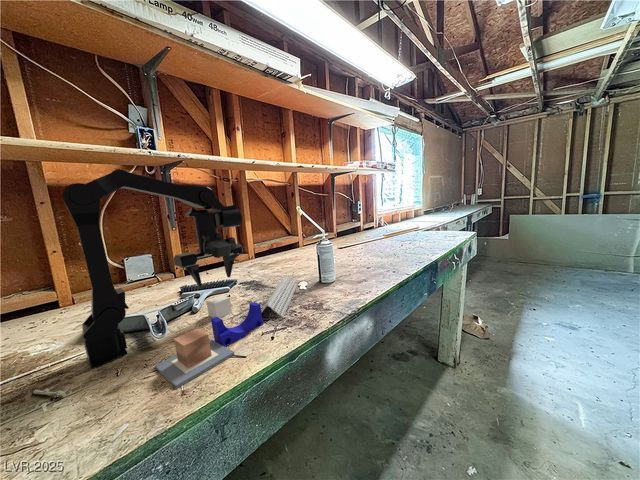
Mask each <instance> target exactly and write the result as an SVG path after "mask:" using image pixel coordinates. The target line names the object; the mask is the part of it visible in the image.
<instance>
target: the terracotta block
mask: <svg viewBox="0 0 640 480" xmlns="http://www.w3.org/2000/svg"><path fill="white" fill-rule="evenodd" d="M209 337H210V336H209V334H208V333H207V332H205V331H204V330H201V329H199V328H194V329H193V330H190V331H189V332H186V333H183V334H181V335H180V336H176V337H175V338H173V343H174V347H175V353H176V354H177V359H178V361H179V362H180V363H182V364H183V365H184V366H185V367H187V368H190V367H192V366H194V365H196V364H197V363H199V362H201V361H203V360H205V359H206V358H208V357H210V356H212V354H211V348H210V342H209ZM176 354H175V355H176Z"/></svg>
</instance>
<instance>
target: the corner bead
mask: <svg viewBox="0 0 640 480" xmlns="http://www.w3.org/2000/svg"><path fill="white" fill-rule="evenodd" d="M297 287H298V283H297V282H296V281H294V280H293V279H292V278H291V277H290V276H289V275H288V274H287V273H286V274H285V276H284V277H283V279H282V280H281V281H280V282H279V284H278V285H277V286H276V288H275V289H274V290H273V293H272V294H271V295H270V297H269V299H268V300H267V301H266V302H265V304H264V305H263V307H262V308H261V314H262V313H263V312H264V311H265V309H266V308H270V309H271V310H272V311H273V312H275V313H276V314H277V315H278V316H280V317H281V318H284V316H285V314H286V312H287V309H288V307H289V304H290V302H291V300H292V298H293V295H294V294H295V290H296V289H297Z"/></svg>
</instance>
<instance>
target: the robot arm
mask: <svg viewBox="0 0 640 480" xmlns="http://www.w3.org/2000/svg"><path fill="white" fill-rule="evenodd" d="M121 189H125V190H132V191H136V192H140V193H145V194H150V195H156V196H159V197H165V198H168V199H169V198H170V199H173V200H176V201H179V202H181V203H183V204H185V205H187V206H191V207H190V208H189V210H188V211H187V212H186V213H185V214H184V216H185V217H186V218H187V217H188V218H191V217H193V222H194V226H195V227H194V228H195V235H194V237H195V239H197V244H198V248H197V249H196V250H197V251H196V252H197V253H194V252H186V253H185V252H184V253H180V254H176V255H174V257H173V264H174V266H177V267H180V268H182V269H185V271H187V272H188V273H189V275H190V276H191V277H192V280H194V282H195V284H196V285H197V286H198V287H200V288H201V287H202V280H201V276H200V271H199V269H200V264H199V263H197V262H198V261H199V260H203V259H208V258H212V257H213V258H215V259H221V258H222V260H223V261H222V262H223V265H224V270H225V274H226V277H227V278H231V276H232V275H231V274H232V270H233V267H234V266H233V265H234V263H235V261H236V259H237V258H238V257H240V254H242V253H244V250H243V246H242V244H241V243H236V242H237V241H236V238H235V237H233V236H229V237H227V238H225V239H224V238H222V235H221V232H219V231H218V226H219V227H220V228H221V229H227V228H233V227H240V226H241V225H242V224H243V215H242V213H241V211H240V210H239V208H238V205H237V204H231V205H223V204H222V202H220V200H219V199H218V198H217V197H216V195H215V192H214V191H213V189H212V188H211V187H209V186H204V185H196V184H195V185H192V184H191V185H189V184H188V185H187V184H178V183H175V182H170V181H167V180H166V181H165V180H162V179H157V178H153V177H150V176H146V175H142V174H137V173H134V172H129V171H127V170H125V169H122V168H121V169H120V168H118V169H114V170H112V171H111V172H110V173H108V174H105V175H102V176H100V177H98V178H95V179H93V180H91V181H89V182H87V183H82V182H78V183H72V184H70V185H67V186H66V187H65V188H64V189H63V191H62V195H61V197H62V200H63V202H64V204H65V207H66V208H67V211H68V212H69V214H70V216H71V218H72V220H73V222H74V224H75V226H76V228H77V232H78V237H79V240H80V243H81V244H80V245H81V249H82V253H83V256H84V260H85V265H86V267H87V273H88V276H89V281H90V284H91V297H90V298H91V302H90V303H91V306H90V307H91V308H90V309H91V310H90V311H91V312H90V313H91V314H89V316H88V317H87V318H86V319H85V320H84V321H83V322H82V342H83V345H84V350H85V353H86V359H85V360H86V361H87V364H88V365H89V367H90V368H91V369H95V368H97V367H99V366H102V365H104V364H107V363H109V362H112V361H114V360H116V359H119V358H120V357H121V358H122V357H123V356H125V355H127V354H128V350H127V349H128V345H127V339H126V336H125V333H124V331H122V330H121V328H120V326H119V324H120V323H121V322H122V321H123V320H125V319H124V318H126V315H127V314H126V313H127V312H126V310H129V309H130V307H129V306H128V305H127V303H126V291H124V289H123V287H118V288H115V286H114V284H113V283H114V282H113V279H112V276H111V271H110V267H109V262H108V258H107V254H106V250H105V245H104V241H103V237H102V232H101V227H100V217H101V215H100V214H101V200H102V199H104V198H106V197H107V196H110V195H111V194H113V193H115V192H117V191H119V190H121ZM199 208H200V209H199ZM201 208H202V209H201ZM209 211H214V212H209Z"/></svg>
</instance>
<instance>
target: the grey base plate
mask: <svg viewBox="0 0 640 480" xmlns="http://www.w3.org/2000/svg"><path fill="white" fill-rule="evenodd" d="M209 342H210V348H211V354H212V356H210V357H208V358H206V359H205V360H203V361H201V362H199V363H197V364H196V365H194V366H192V367H190V368H187V367H185V366H184V365H183V364H182V363H180V362H179V361H178V359H177V354H175V355H173V356H171V357H168V358H167V359H164V360H162V361H160V362H159V363H156V364H155V365H154V368H155V370H157V371H158V372H159V373H160V374H161V375H162V376H163V377H164V378H165V379H166V380H168V382H169V383H170V384H171V385H173V386H174V387H175V388H176V389H178V388H181V387H182V386H184V385H185V384H187V383H189V382H190V381H192V380H194V379H195V378H197V377H198V376H200V375H203V374H204V373H205V372H207V371H209V370H210V369H212V368H214V367H215V366H217V365H219V364H221V363H222V362H224V361H226V360H227V359H229V358H230V357H233V356H234V355H235V351H233V350H231V349H230V348H229V347H227V346H225V347H224V346H222V345H221V344H219V343H217V342H215V340H213V339H211V338H209Z"/></svg>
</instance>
